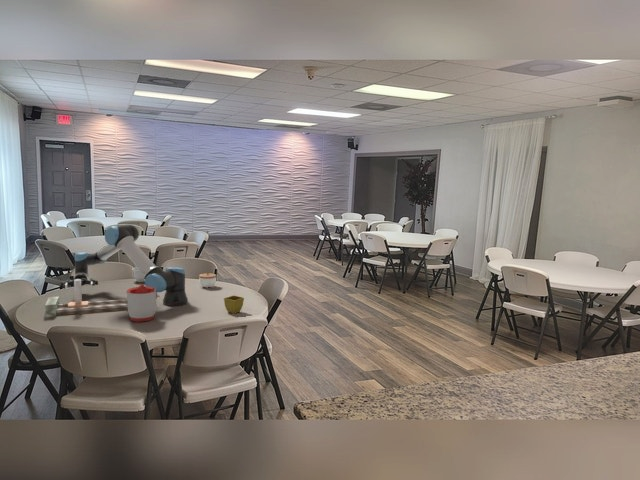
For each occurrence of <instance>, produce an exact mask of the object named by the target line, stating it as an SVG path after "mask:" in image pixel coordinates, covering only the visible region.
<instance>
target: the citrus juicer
mask: <svg viewBox="0 0 640 480" xmlns="http://www.w3.org/2000/svg"><path fill="white" fill-rule="evenodd" d="M157 298H161V297H160V295H159V294H158V293H157V290H155V291H154V287H146V286H145V284H140V285H139V286H136V287H131V288H128V289H126V299H127V306H128V310H127V312H128V314H129V318H130V320H131V321H133V322H136V323H141V322H147V321H148V322H149V321H152V320H153V319H154V317H155V313H156V310H157V300H158V299H157Z"/></svg>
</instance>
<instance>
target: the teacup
mask: <svg viewBox="0 0 640 480" xmlns="http://www.w3.org/2000/svg"><path fill="white" fill-rule="evenodd" d="M131 270H132V275H133V278H134V280H136V282H137V283H144V282H145V279H144V276H145V275H144V274H143V273H142V272H141V271H140V270H139V269H138V268H137V266H135V267H132V268H131Z"/></svg>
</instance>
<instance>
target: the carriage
mask: <svg viewBox="0 0 640 480" xmlns="http://www.w3.org/2000/svg"><path fill="white" fill-rule="evenodd" d="M73 280H74V279H73ZM73 288H74V290H73V291H74V301H69V302H68V303H67V304H68V308H82V307H88V302H89V301H88V300H85V301H84V300H82V297H83V296H82V294H83V293H82V286H81V279H76V280H74V285H73Z"/></svg>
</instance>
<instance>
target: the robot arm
mask: <svg viewBox="0 0 640 480" xmlns="http://www.w3.org/2000/svg"><path fill="white" fill-rule="evenodd" d="M139 236H140V233H139V229H138V228H137V227H136V226H135V225H132V224H121V225H111V226H108V227H107V228H106V230H105V232H104V240H105V242H106V245H105V246H103V247H102V248H100V249H99V250H98V251H96V252H95V253H91V254H89V253H88V252H86V251H85V252H83V251H80V252H76V253H75V254H74V278H73V279H69V278H68V279H67V280H64V281H62V282H60V287H61V288H62V287H63V288H64V290H68V287H71V286H74V280H76V279H81V287H83V286H85V285H89V286H90V289H93V286H94V287H95V286H98V285H99V281H98V280H96V279H93V278H92V277H91V278H89V279H88V277H89V266H95V265H101V264H104V263H106V262H107V261H108V259H109V258H110V257H111V256H113V255H114V254H116V253H117V252H119V251H122V252H123V253H124V254H125V255H126V256H127V257H128V258H129V260H130V261H131V262H132V263H133V264H134V265H135V267H137V268H138V269H139V270H140V271H141V272H142V273H143V274H144V275H145V276H144V286H145V287H154V291H155V290H157V294H158V293H162V292H164V291H165V293H164V297H163V300H162V304H163V305H165V306H170V307H171V306H172V307H177V306H183V305H187V304H188V301H189V298H188V297H187V292H186V270H185V268H183V267H176V266H175V267H174V266H167V267H166V268H165V270H164V269H163V268H162V267H161V266H158V265H157V266H156V264H155V263H153V261H152V260H151V259H150V258H149V257H148V256H147V254H145V252H144V251H143V250H142V249H141V247H140V246H138V244H137V243H136V241H137V240H138V239H139Z"/></svg>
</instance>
